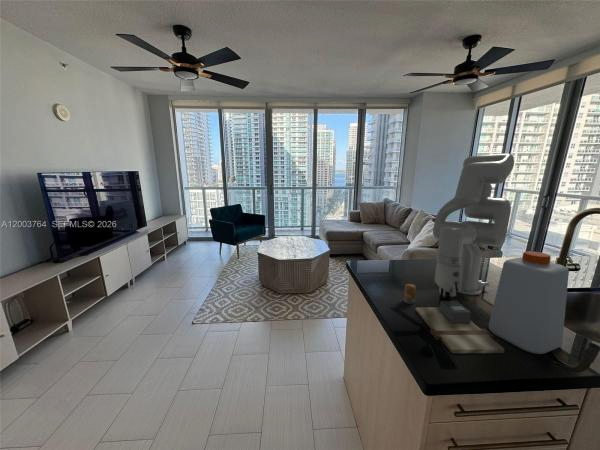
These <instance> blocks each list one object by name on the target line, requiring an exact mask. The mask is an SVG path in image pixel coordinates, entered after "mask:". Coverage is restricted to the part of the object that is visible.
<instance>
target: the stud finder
mask: <svg viewBox="0 0 600 450" xmlns="http://www.w3.org/2000/svg"><path fill="white" fill-rule="evenodd" d="M439 307H440V312H441V313H442V314H443V315H445V316H446V317H447V318H448V319H449V320H450V321H451V322H452V323H470V321H471V319H472V318H471V317H472V311H470V310H469V309H468V308H467V307H466V306H464V305H463V304H461V302H459V301H458V300H450V301H441V302H440V304H439Z"/></svg>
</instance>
